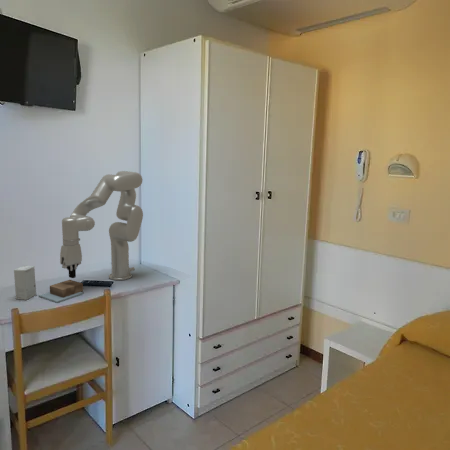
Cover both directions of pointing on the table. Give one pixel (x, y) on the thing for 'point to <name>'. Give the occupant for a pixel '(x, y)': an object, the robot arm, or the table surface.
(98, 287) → the table surface
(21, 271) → the skincare box
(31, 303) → the table surface
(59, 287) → the walnut slab
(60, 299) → the mat
